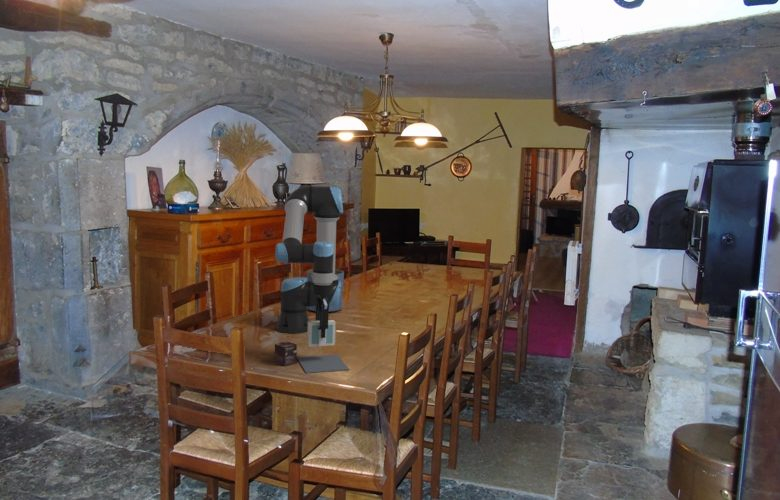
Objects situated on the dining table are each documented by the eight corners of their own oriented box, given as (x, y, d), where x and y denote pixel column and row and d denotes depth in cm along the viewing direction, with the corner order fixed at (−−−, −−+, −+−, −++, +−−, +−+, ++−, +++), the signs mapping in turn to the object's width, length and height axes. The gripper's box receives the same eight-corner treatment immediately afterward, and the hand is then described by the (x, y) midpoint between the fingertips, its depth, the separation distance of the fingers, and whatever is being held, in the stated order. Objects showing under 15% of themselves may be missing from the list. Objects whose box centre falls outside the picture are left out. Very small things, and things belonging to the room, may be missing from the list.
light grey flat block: (307, 344, 234) (307, 321, 233) (333, 342, 238) (333, 320, 236) (309, 346, 231) (309, 323, 230) (335, 345, 235) (335, 322, 233)
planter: (323, 316, 306) (324, 276, 303) (298, 309, 318) (298, 270, 316) (350, 310, 320) (351, 272, 317) (325, 303, 332) (326, 267, 330)
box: (284, 366, 228) (284, 347, 227) (273, 362, 232) (274, 343, 231) (296, 363, 233) (297, 344, 232) (286, 359, 237) (286, 340, 236)
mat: (297, 358, 239) (297, 357, 238) (337, 355, 244) (337, 354, 244) (306, 373, 222) (306, 372, 222) (349, 370, 227) (349, 369, 227)
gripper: (308, 279, 238) (307, 339, 241) (317, 287, 223) (315, 351, 226) (327, 279, 240) (326, 338, 243) (337, 287, 225) (335, 349, 228)
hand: (321, 344), depth 234 cm, fingers closed on light grey flat block, 3 cm apart
